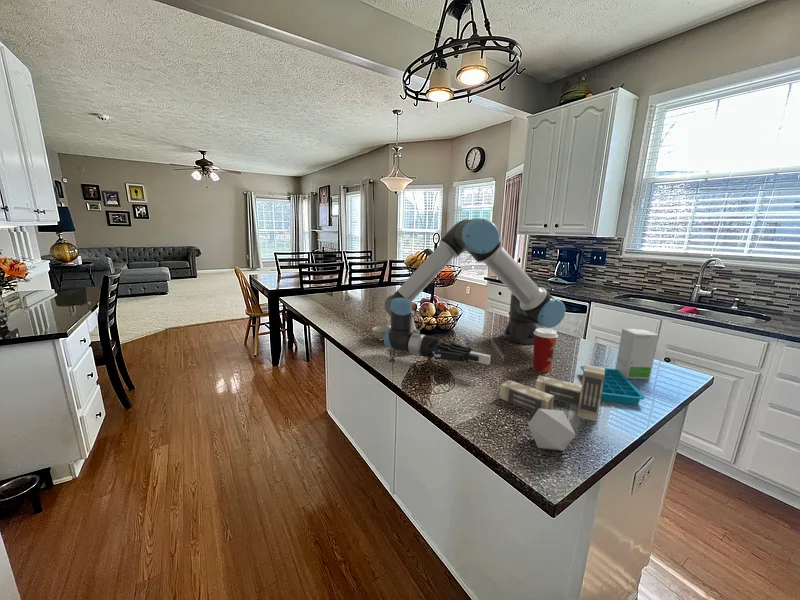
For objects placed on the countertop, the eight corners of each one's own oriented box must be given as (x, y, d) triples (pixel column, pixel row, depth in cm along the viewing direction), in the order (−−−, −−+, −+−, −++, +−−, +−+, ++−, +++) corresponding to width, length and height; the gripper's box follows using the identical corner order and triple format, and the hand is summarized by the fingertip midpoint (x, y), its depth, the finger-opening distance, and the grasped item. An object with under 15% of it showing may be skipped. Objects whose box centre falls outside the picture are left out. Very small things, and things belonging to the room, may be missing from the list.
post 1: (508, 379, 96) (554, 395, 87) (507, 393, 97) (552, 410, 88) (500, 385, 93) (547, 402, 84) (499, 399, 94) (545, 417, 85)
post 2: (539, 375, 100) (587, 386, 93) (537, 388, 101) (585, 401, 94) (536, 381, 96) (586, 393, 89) (534, 395, 97) (584, 408, 90)
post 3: (578, 408, 89) (584, 364, 86) (597, 413, 87) (604, 368, 84) (577, 417, 85) (583, 370, 82) (596, 422, 83) (604, 375, 80)
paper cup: (555, 374, 110) (561, 335, 107) (531, 372, 112) (536, 333, 109) (550, 365, 118) (555, 328, 115) (527, 363, 119) (531, 326, 116)
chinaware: (365, 344, 140) (362, 307, 136) (389, 331, 153) (387, 297, 148) (418, 360, 124) (417, 319, 119) (441, 344, 136) (440, 307, 132)
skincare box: (625, 379, 108) (634, 334, 104) (613, 370, 114) (620, 328, 111) (651, 379, 108) (660, 334, 104) (637, 371, 114) (645, 328, 111)
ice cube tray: (616, 377, 109) (618, 369, 109) (644, 408, 90) (646, 399, 90) (578, 373, 112) (579, 365, 112) (598, 402, 93) (599, 393, 92)
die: (562, 467, 68) (589, 428, 68) (524, 439, 69) (551, 401, 70) (550, 455, 76) (574, 419, 76) (516, 430, 78) (540, 395, 78)
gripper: (431, 349, 122) (494, 364, 110) (414, 361, 111) (482, 378, 99) (432, 330, 121) (496, 343, 109) (415, 340, 110) (484, 355, 98)
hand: (489, 360), depth 104 cm, fingers closed
